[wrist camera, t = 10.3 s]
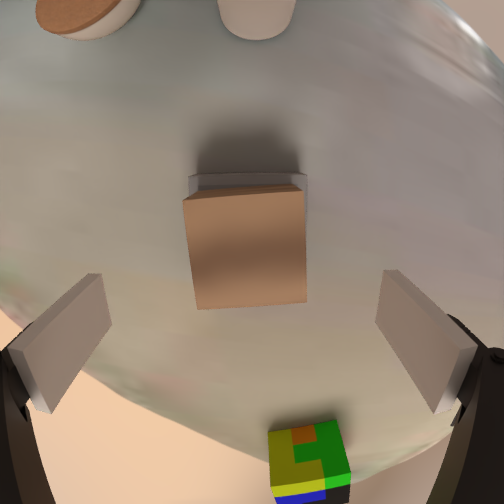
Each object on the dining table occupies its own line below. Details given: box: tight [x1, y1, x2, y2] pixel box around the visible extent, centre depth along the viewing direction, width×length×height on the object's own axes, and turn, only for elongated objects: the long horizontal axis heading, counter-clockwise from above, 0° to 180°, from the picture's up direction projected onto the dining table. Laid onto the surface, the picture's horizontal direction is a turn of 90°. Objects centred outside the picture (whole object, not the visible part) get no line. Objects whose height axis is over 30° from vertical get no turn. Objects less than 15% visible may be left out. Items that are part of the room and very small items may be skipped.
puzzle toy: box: [268, 420, 351, 504], centre depth 36 cm, size 10×10×10 cm
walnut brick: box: [183, 184, 307, 310], centre depth 24 cm, size 8×8×6 cm
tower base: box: [188, 172, 307, 237], centre depth 29 cm, size 10×10×4 cm
